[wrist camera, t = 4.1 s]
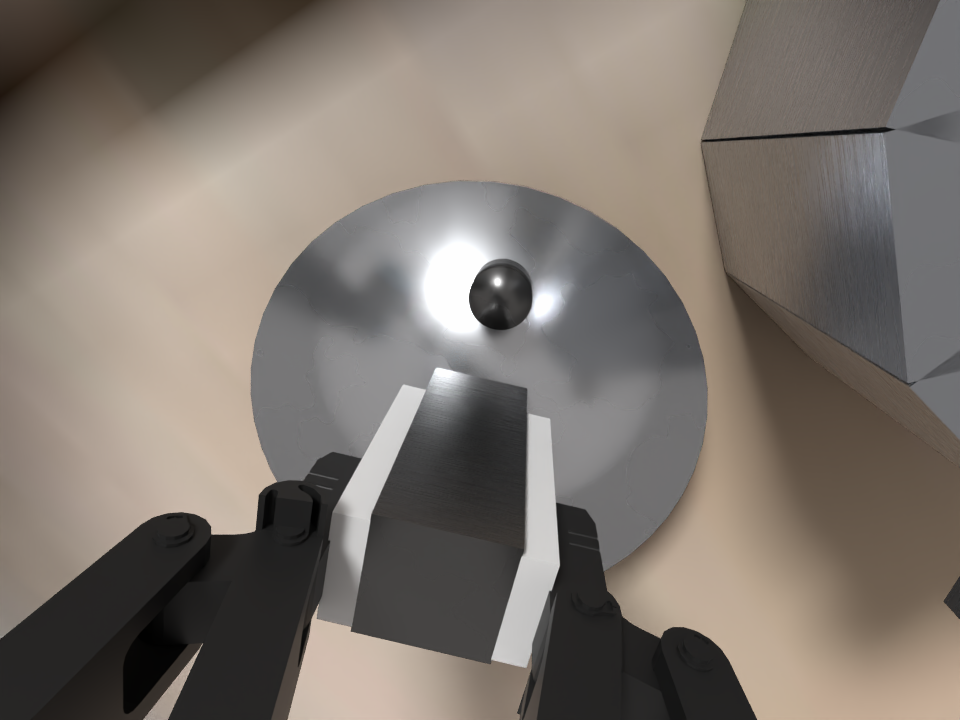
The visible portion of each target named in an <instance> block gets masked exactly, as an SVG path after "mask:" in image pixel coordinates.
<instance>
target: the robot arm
mask: <svg viewBox="0 0 960 720" xmlns="http://www.w3.org/2000/svg"><path fill="white" fill-rule="evenodd" d="M425 391H426V390H425V389H420V388H416V387H412V386H408V385H403V386H402V387H401V389H400V391H399V393H398V395H397V396H396V398H395V400H394V402H393V404H392V405H391V407H390V409H389V411H388V413H387V414H386V416H385V418H384V420H383V422H382V423H381V425H380V427H379V429H378V431H377V433H376V434H375V436H374V438H373V440H372V442H371V443H370V445H369V447H368V449H367V451H366V452H365V454H364V456H363V458H358V457H353V456H349V455H345V454H340V453H336V452H331V453H329V454H327V455H325V456H324V457H322V458H320V459H318V460H317V461H316V463H315V464H314V466H313V467H312V468H311V470H310V471H309V474H307V476H306V477H305V479H304V480H303V481H297V480H287V481H282V482H276V483H274V484H272V485H270V486H268V487H266V488H265V489H264V490H263V491H262V492H261V493H260V494H259V500H258V511H257V522H256V530H255V532H251V533H247V534H237V535H211V526H210V525H209V523H208V522H207V521H206V519H204V518H202V517H200V516H197V515H195V514H189V513H183V512H180V513H167V514H164V515H160V516H157V517H153V518H152V519H150V520H148V521H147V522H145V523H143V524H141V525H140V526H139V527H138V528H137V529H135V530H134V531H133V532H132V533H130V534H129V535H128V536H127V537H125V538H124V539H123V540H122V541H121V542H119V543H118V544H117V545H116V546H114V547H113V548H112V549H111V550H109V551H108V552H107V553H106V554H105V555H103V556H102V557H101V558H100V559H98V560H97V561H96V562H95V563H93V564H92V565H91V566H90V567H89V568H87V569H86V570H85V571H84V572H82V573H81V574H80V575H79V576H77V577H76V578H75V579H74V580H73V581H71V582H70V583H69V584H68V585H66V586H65V587H64V588H63V589H62V590H60V591H59V592H58V593H57V594H55V595H54V596H53V597H52V598H50V599H49V600H48V601H47V602H46V603H44V604H43V605H42V606H41V607H39V608H38V609H37V610H36V611H34V612H33V613H32V614H31V615H30V616H28V617H27V618H26V619H25V620H23V621H22V622H21V623H20V624H18V625H17V626H16V627H15V628H14V629H12V630H11V631H10V632H9V633H7V634H6V635H5V636H4V637H2V638H1V639H0V720H143V719H144V718H145V716H146V715H147V714H148V713H149V711H150V710H151V709H152V708H153V706H154V705H155V704H156V702H157V701H158V700H159V699H160V697H161V696H162V695H163V694H164V692H165V691H166V690H167V689H168V687H169V686H170V685H171V684H172V682H173V681H174V680H175V679H176V677H177V676H178V675H179V674H180V672H181V671H182V670H183V669H184V667H185V666H186V665H187V663H188V662H189V661H190V660H191V658H192V657H193V656H194V655H195V653H196V652H197V651H198V650H199V648H200V647H201V645H202V643H203V645H202V647H201V649H200V652H199V654H198V656H197V658H196V660H195V662H194V665H193V667H192V669H191V671H190V673H189V675H188V678H187V680H186V682H185V684H184V686H183V688H182V691H181V693H180V695H179V697H178V699H177V701H176V704H175V706H174V708H173V710H172V712H171V714H170V717H169V719H168V720H287V719H288V715H289V712H290V708H291V704H292V700H293V696H294V692H295V688H296V684H297V681H298V677H299V673H300V669H301V665H302V661H303V657H304V653H305V650H306V646H307V642H308V638H309V633H310V626H311V619H312V616H313V614H314V612H315V610H316V608H317V606H318V604H319V607H318V613H317V619H320V620H324V621H328V622H333V623H337V624H341V625H345V626H350V627H352V623H353V618H354V612H355V606H356V601H357V595H358V589H359V584H360V578H361V572H362V567H363V561H364V555H365V550H366V544H367V538H368V533H369V527H370V519H371V513H372V511H373V509H374V507H375V504H376V502H377V500H378V498H379V495H380V493H381V491H382V489H383V486H384V484H385V482H386V480H387V477H388V475H389V473H390V471H391V468H392V466H393V464H394V461H395V459H396V457H397V455H398V452H399V450H400V448H401V446H402V443H403V441H404V439H405V437H406V434H407V432H408V430H409V428H410V425H411V423H412V421H413V419H414V416H415V414H416V412H417V409H418V407H419V405H420V403H421V400H422V398H423V396H424V394H425ZM597 539H598V535H597V529H596V523H595V522H594V521H593V519H592V518H591V516H590V515H589V514H588V512H587V511H586V509H582V508H578V507H573V506H569V505H565V504H561V503H556V500H555V485H554V470H553V455H552V440H551V425H550V419H549V418H545V417H541V416H536V415H532V414H528V413H527V433H526V489H525V544H524V552H523V556H522V557H521V560H520V563H519V567H518V570H517V574H516V577H515V580H514V584H513V587H512V591H511V594H510V597H509V601H508V604H507V607H506V611H505V614H504V618H503V621H502V624H501V628H500V631H499V634H498V638H497V641H496V645H495V648H494V651H493V655H492V658H491V660H494V661H498V662H502V663H507V664H511V665H515V666H519V667H524V668H527V664H528V661H529V658H530V655H531V652H532V670H531V673H530V676H529V679H528V682H527V685H526V688H525V691H524V694H523V697H522V700H521V703H520V706H519V709H518V712H517V713H518V714H520V720H757V718H756V716H755V714H754V712H753V710H752V708H751V706H750V704H749V702H748V700H747V698H746V695H745V693H744V691H743V689H742V687H741V685H740V683H739V681H738V679H737V677H736V675H735V672H734V670H733V668H732V666H731V664H730V662H729V660H728V659H727V657H726V656H725V654H724V653H723V651H722V650H721V649H720V648H719V647H718V646H717V645H716V644H715V643H714V642H713V641H712V640H710V639H709V638H707V637H706V636H704V635H702V634H701V633H699V632H697V631H694V630H691V629H688V628H684V627H672V628H670V629H668V630H666V631H664V633H663V635H662V637H661V639H660V638H658V637H656V636H654V635H652V634H650V633H648V632H646V631H644V630H642V629H640V628H638V627H637V626H635V625H633V624H631V623H630V622H628V621H627V620H626V619H625V618H623V617H622V614H621V610H620V606H619V604H618V603H617V601H616V600H615V598H614V597H613V596H612V595H611V594H610V593H609V592H607V588H606V582H605V576H604V570H603V564H602V559H601V553H600V552H599V550H600V547H599V541H598V540H597Z"/></svg>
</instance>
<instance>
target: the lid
mask: <svg viewBox="0 0 960 720" xmlns="http://www.w3.org/2000/svg"><path fill="white" fill-rule="evenodd" d="M403 385H408V386H412V387H416V388H420V389H425V390H426V391H425V394H424V396H423V398H422V400H421V403H420V405H419V407H418V409H417V412H416V414H415V416H414V419H413V421H412V423H411V425H410V428H409V430H408V432H407V434H406V437H405V439H404V441H403V443H402V446H401V448H400V450H399V452H398V455H397V457H396V459H395V461H394V464H393V466H392V468H391V471H390V473H389V475H388V477H387V480H386V482H385V484H384V486H383V489H382V491H381V493H380V495H379V498H378V500H377V502H376V504H375V507H374V509H373V511H372V513H371V519H370V527H369V533H368V538H367V544H366V550H365V555H364V561H363V567H362V572H361V578H360V584H359V589H358V595H357V601H356V606H355V612H354V618H353V623H352V627H351V632H355V633H359V634H364V635H368V636H372V637H376V638H381V639H385V640H389V641H394V642H398V643H402V644H406V645H411V646H415V647H419V648H423V649H428V650H432V651H436V652H440V653H445V654H449V655H453V656H458V657H462V658H466V659H470V660H475V661H479V662H483V663H487V664H491V661H492V660H491V658H492V655H493V651H494V648H495V645H496V641H497V638H498V634H499V631H500V628H501V624H502V621H503V618H504V614H505V611H506V607H507V604H508V601H509V597H510V594H511V591H512V587H513V584H514V580H515V577H516V574H517V570H518V567H519V563H520V560H521V557H522V556H523V552H524V544H525V489H526V433H527V413H528V414H532V415H536V416H541V417H545V418H549V419H550V425H551V440H552V455H553V470H554V485H555V500H556V503H561V504H565V505H569V506H573V507H578V508H582V509H586V511H587V512H588V514H589V515H590V516H591V518H592V519H593V521H594V522H595V523H596V529H597V535H598V539H597V540H598V541H599V547H600V550H599V552H600V553H601V559H602V564H603V570H604V571H605V570H607V569H609V568H611V567H612V566H614V565H615V564H617V563H618V562H619V561H621V560H622V559H624V558H625V557H627V556H628V555H630V554H631V553H632V552H633V551H634V550H636V549H637V548H638V547H639V546H640V545H641V544H642V543H644V542H645V541H646V540H647V539H648V538H649V537H650V536H651V535H652V534H653V533H654V532H655V531H656V530H657V528H658V527H659V526H660V525H661V524H662V523H663V522H664V520H665V519H666V518H667V517H668V516H669V514H670V513H671V511H672V510H673V508H674V507H675V505H676V504H677V502H678V501H679V499H680V498H681V496H682V495H683V493H684V490H685V488H686V486H687V484H688V482H689V480H690V478H691V476H692V474H693V472H694V469H695V466H696V463H697V460H698V457H699V454H700V451H701V447H702V444H703V438H704V432H705V426H706V420H707V381H706V373H705V366H704V359H703V355H702V352H701V349H700V345H699V342H698V338H697V335H696V331H695V329H694V327H693V324H692V322H691V320H690V318H689V316H688V314H687V311H686V309H685V307H684V305H683V303H682V301H681V299H680V298H679V296H678V295H677V293H676V292H675V290H674V289H673V287H672V286H671V284H670V283H669V281H668V279H667V278H666V276H665V275H664V274H663V273H662V272H661V271H660V269H659V268H658V267H657V266H656V265H655V264H654V263H653V261H652V260H651V259H650V258H649V257H648V256H647V255H646V253H645V252H644V251H643V250H642V249H640V248H639V247H638V246H637V245H636V244H635V243H633V242H632V241H631V240H630V239H629V238H628V237H626V236H625V235H624V234H623V233H622V232H621V231H619V230H618V229H617V228H616V227H614V226H613V225H611V224H610V223H608V222H607V221H605V220H604V219H602V218H600V217H599V216H597V215H596V214H594V213H593V212H591V211H589V210H588V209H586V208H583V207H581V206H579V205H577V204H575V203H573V202H570V201H568V200H566V199H564V198H562V197H560V196H557V195H554V194H550V193H547V192H544V191H540V190H537V189H534V188H531V187H527V186H522V185H516V184H509V183H503V182H497V181H469V180H459V181H450V182H442V183H433V184H427V185H423V186H419V187H415V188H411V189H408V190H404V191H400V192H396V193H393V194H390V195H388V196H386V197H383V198H381V199H378V200H376V201H374V202H371V203H369V204H367V205H364V206H362V207H360V208H359V209H357V210H355V211H354V212H352V213H350V214H349V215H347V216H345V217H344V218H342V219H340V220H339V221H337V222H335V223H334V224H333V225H332V226H331V227H329V228H328V229H327V230H326V231H324V232H323V233H322V234H321V235H320V236H318V237H317V238H316V239H315V240H313V241H312V242H311V243H310V244H309V245H308V247H307V248H306V249H305V250H304V251H303V252H302V253H301V254H300V255H299V256H298V258H297V259H296V260H295V261H294V262H293V263H292V264H291V266H290V267H289V269H288V270H287V272H286V273H285V275H284V276H283V278H282V279H281V281H280V282H279V284H278V285H277V287H276V288H275V290H274V292H273V294H272V296H271V299H270V301H269V303H268V305H267V307H266V309H265V311H264V313H263V316H262V320H261V323H260V326H259V330H258V333H257V336H256V339H255V345H254V352H253V358H252V365H251V399H252V407H253V415H254V422H255V425H256V429H257V433H258V437H259V440H260V444H261V447H262V450H263V452H264V454H265V457H266V459H267V462H268V464H269V467H270V469H271V471H272V473H273V475H274V476H275V478H276V480H277V482H282V481H287V480H297V481H303V480H304V479H305V477H306V476H307V474H309V471H310V470H311V468H312V467H313V466H314V464H315V463H316V461H317V460H318V459H320V458H322V457H324V456H325V455H327V454H329V453H331V452H336V453H340V454H345V455H349V456H353V457H358V458H363V456H364V454H365V452H366V451H367V449H368V447H369V445H370V443H371V442H372V440H373V438H374V436H375V434H376V433H377V431H378V429H379V427H380V425H381V423H382V422H383V420H384V418H385V416H386V414H387V413H388V411H389V409H390V407H391V405H392V404H393V402H394V400H395V398H396V396H397V395H398V393H399V391H400V389H401V387H402V386H403Z"/></svg>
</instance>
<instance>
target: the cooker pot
mask: <svg viewBox="0 0 960 720" xmlns="http://www.w3.org/2000/svg"><path fill="white" fill-rule="evenodd" d="M701 140H705V141H704V142H701V146H702V151H703V156H704V162H705V167H706V172H707V178H708V183H709V188H710V194H711V199H712V204H713V210H714V215H715V220H716V226H717V231H718V236H719V242H720V247H721V252H722V258H723V263H724V268H725V271H726V273H727V274H728V275H729V276H730V277H731V278H732V279H733V280H734V281H735V282H736V283H737V284H738V285H739V286H740V287H741V288H742V289H743V290H744V292H745V293H746V294H747V295H748V296H749V297H750V298H751V299H752V300H753V301H754V302H755V303H756V304H757V305H758V306H759V307H760V308H761V309H762V310H763V311H764V312H765V313H766V314H767V315H768V316H769V317H770V318H771V319H772V320H773V321H774V322H775V323H776V324H777V325H778V326H779V327H780V328H781V329H782V330H783V331H784V332H785V333H786V334H787V335H788V336H789V337H790V338H791V339H792V340H793V341H794V342H795V343H796V344H797V345H798V346H799V347H800V349H801V350H802V351H803V352H804V353H805V354H806V355H808V356H809V357H810V358H812V359H813V360H814V361H816V362H817V363H818V364H820V365H821V366H822V367H824V368H825V369H826V370H828V371H829V372H831V373H832V374H833V375H835V376H836V377H837V378H839V379H840V380H841V381H843V382H844V383H845V384H847V385H848V386H849V387H851V388H852V389H854V390H855V391H856V392H858V393H859V394H860V395H862V396H863V397H864V398H866V399H867V400H868V401H870V402H871V403H872V404H874V405H875V406H877V407H878V408H879V409H881V410H882V411H883V412H885V413H886V414H887V415H889V416H890V417H891V418H893V419H894V420H895V421H897V422H898V423H900V424H901V425H902V426H904V427H905V428H906V429H908V430H909V431H910V432H912V433H913V434H914V435H916V436H917V437H918V438H920V439H921V440H923V441H924V442H925V443H927V444H928V445H929V446H931V447H932V448H933V449H935V450H936V451H937V452H939V453H940V454H941V455H943V456H944V457H946V458H947V459H948V460H950V461H951V462H952V463H954V464H955V465H956V466H958V467H959V468H960V0H747V2H746V5H745V8H744V11H743V14H742V17H741V20H740V23H739V26H738V29H737V32H736V35H735V38H734V41H733V44H732V47H731V50H730V53H729V56H728V59H727V63H726V66H725V69H724V72H723V75H722V78H721V81H720V84H719V87H718V90H717V93H716V96H715V99H714V102H713V105H712V108H711V111H710V114H709V117H708V120H707V123H706V126H705V130H704V133H703V136H702V139H701ZM944 602H945V604H946V605H947V606H948V607H949V608H950V609H951V610H952V611H953V612H954V613H955V614H956V616H957V617H958V618H959V619H960V577H959V578H958V580H957V581H956V583H955V584H954V586H953V588H952V589H951V591H950V592H949V594H948V595H947V597H946V599H945V600H944Z"/></svg>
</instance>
